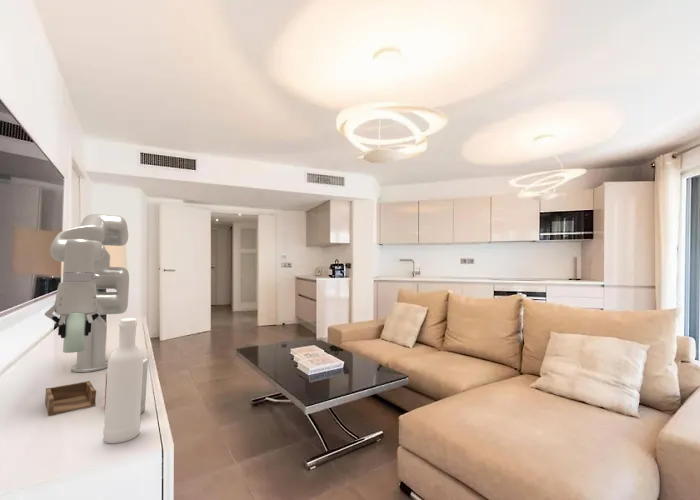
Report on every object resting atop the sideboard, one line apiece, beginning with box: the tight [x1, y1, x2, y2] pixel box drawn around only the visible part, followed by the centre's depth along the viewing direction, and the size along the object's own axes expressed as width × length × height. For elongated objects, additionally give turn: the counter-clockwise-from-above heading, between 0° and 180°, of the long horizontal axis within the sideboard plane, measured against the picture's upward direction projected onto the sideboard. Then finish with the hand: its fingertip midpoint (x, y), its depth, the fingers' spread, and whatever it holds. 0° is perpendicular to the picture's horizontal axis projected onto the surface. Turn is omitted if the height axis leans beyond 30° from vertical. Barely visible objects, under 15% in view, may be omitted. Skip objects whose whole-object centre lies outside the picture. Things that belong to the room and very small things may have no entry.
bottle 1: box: [62, 312, 86, 354], centre depth 108 cm, size 5×5×17 cm
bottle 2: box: [102, 317, 144, 444], centre depth 90 cm, size 8×8×30 cm
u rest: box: [44, 380, 97, 417], centre depth 107 cm, size 12×11×5 cm
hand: (74, 335), depth 108 cm, fingers closed on bottle 1, 5 cm apart
